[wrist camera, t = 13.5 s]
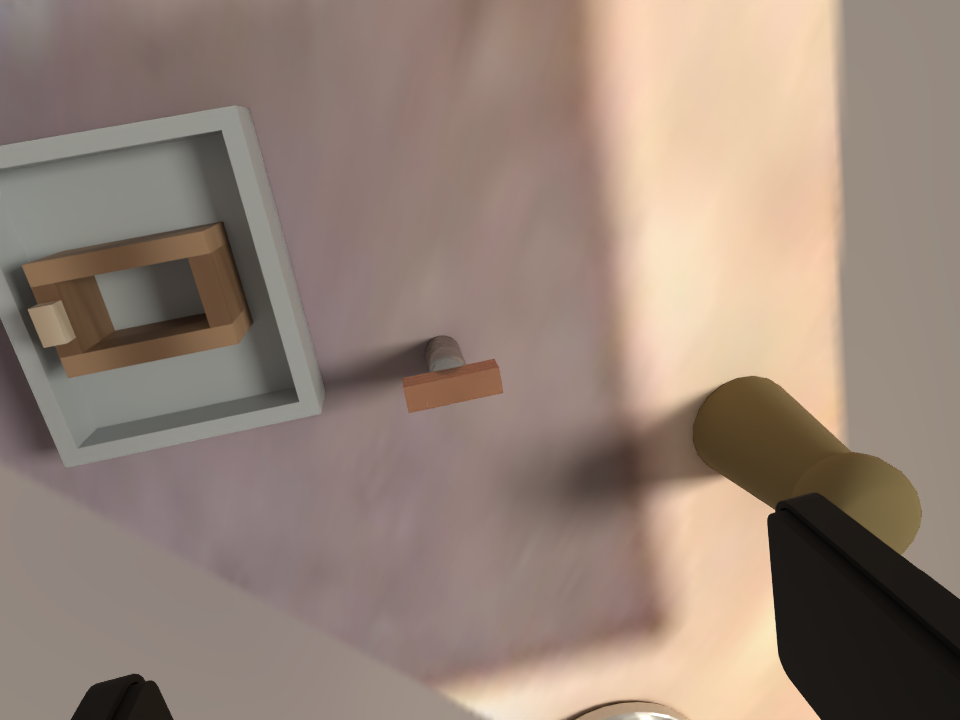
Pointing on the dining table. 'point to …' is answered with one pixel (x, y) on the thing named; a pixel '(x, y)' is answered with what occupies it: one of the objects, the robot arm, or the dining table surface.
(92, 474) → the dining table surface
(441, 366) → the brown grey t-shaped piece
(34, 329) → the tray
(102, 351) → the collar
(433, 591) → the dining table surface
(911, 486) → the cork
